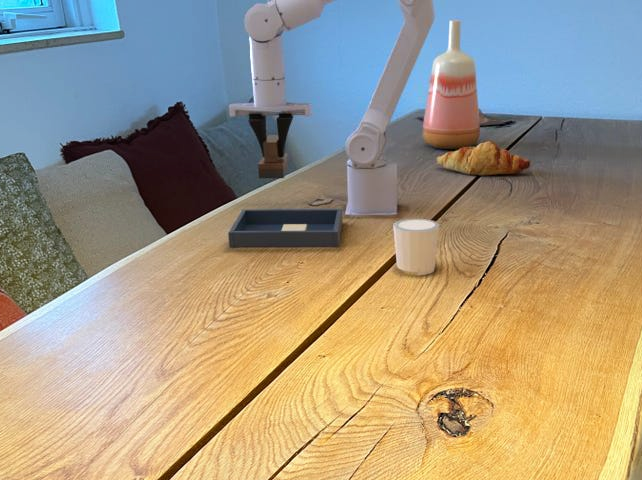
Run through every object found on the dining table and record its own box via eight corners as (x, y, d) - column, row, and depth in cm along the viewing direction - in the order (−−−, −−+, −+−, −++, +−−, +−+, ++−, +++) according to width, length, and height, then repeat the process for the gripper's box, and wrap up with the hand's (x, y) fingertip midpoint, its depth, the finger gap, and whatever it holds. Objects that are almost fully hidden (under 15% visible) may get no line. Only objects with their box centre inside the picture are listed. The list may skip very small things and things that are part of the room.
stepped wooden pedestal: (289, 167, 151) (287, 133, 149) (283, 178, 143) (281, 143, 141) (266, 167, 151) (263, 134, 149) (258, 178, 143) (256, 143, 141)
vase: (488, 144, 204) (495, 19, 191) (462, 154, 194) (467, 22, 180) (439, 139, 211) (442, 18, 198) (411, 148, 201) (412, 21, 187)
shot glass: (443, 264, 122) (445, 219, 119) (431, 279, 116) (432, 232, 113) (401, 259, 124) (401, 216, 121) (387, 274, 118) (386, 228, 115)
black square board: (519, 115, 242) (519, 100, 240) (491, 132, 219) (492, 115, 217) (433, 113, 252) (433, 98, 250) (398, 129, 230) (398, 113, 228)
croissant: (433, 186, 179) (428, 158, 173) (443, 157, 185) (439, 128, 179) (527, 191, 173) (526, 162, 167) (534, 160, 179) (533, 131, 172)
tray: (342, 225, 141) (342, 208, 139) (338, 250, 128) (337, 231, 127) (243, 226, 141) (241, 209, 139) (229, 250, 128) (228, 232, 127)
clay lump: (307, 230, 136) (307, 224, 135) (305, 237, 132) (304, 230, 132) (284, 231, 136) (283, 224, 136) (281, 238, 132) (280, 231, 132)
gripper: (311, 75, 144) (315, 151, 150) (231, 75, 144) (238, 151, 150) (307, 80, 137) (311, 159, 143) (224, 80, 137) (231, 159, 143)
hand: (273, 156), depth 146 cm, fingers closed on stepped wooden pedestal, 2 cm apart
